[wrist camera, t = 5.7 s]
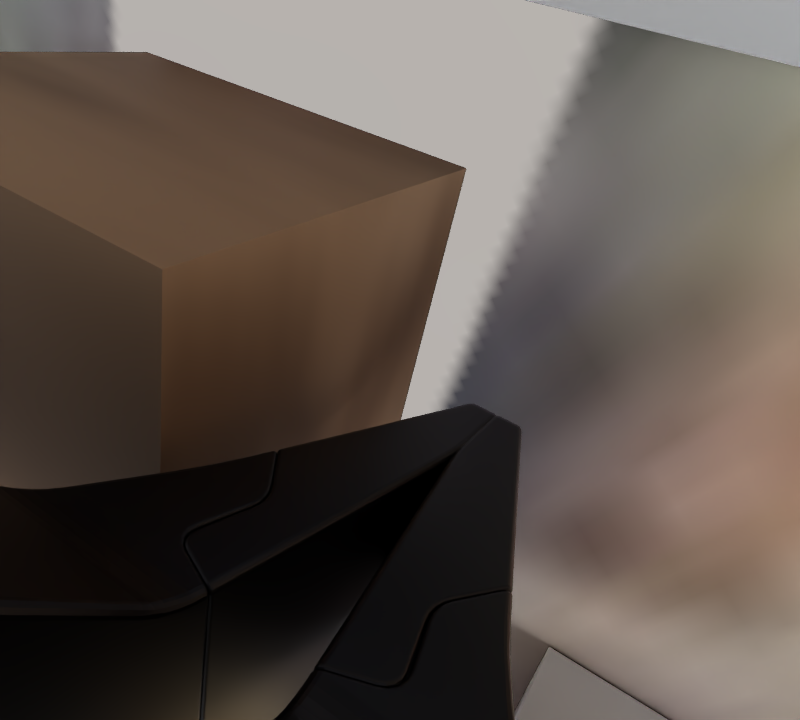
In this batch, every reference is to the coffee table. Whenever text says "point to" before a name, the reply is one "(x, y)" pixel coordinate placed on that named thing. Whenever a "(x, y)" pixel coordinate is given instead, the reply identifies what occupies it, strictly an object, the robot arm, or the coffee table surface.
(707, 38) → the lane
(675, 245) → the coffee table surface
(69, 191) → the walnut block
